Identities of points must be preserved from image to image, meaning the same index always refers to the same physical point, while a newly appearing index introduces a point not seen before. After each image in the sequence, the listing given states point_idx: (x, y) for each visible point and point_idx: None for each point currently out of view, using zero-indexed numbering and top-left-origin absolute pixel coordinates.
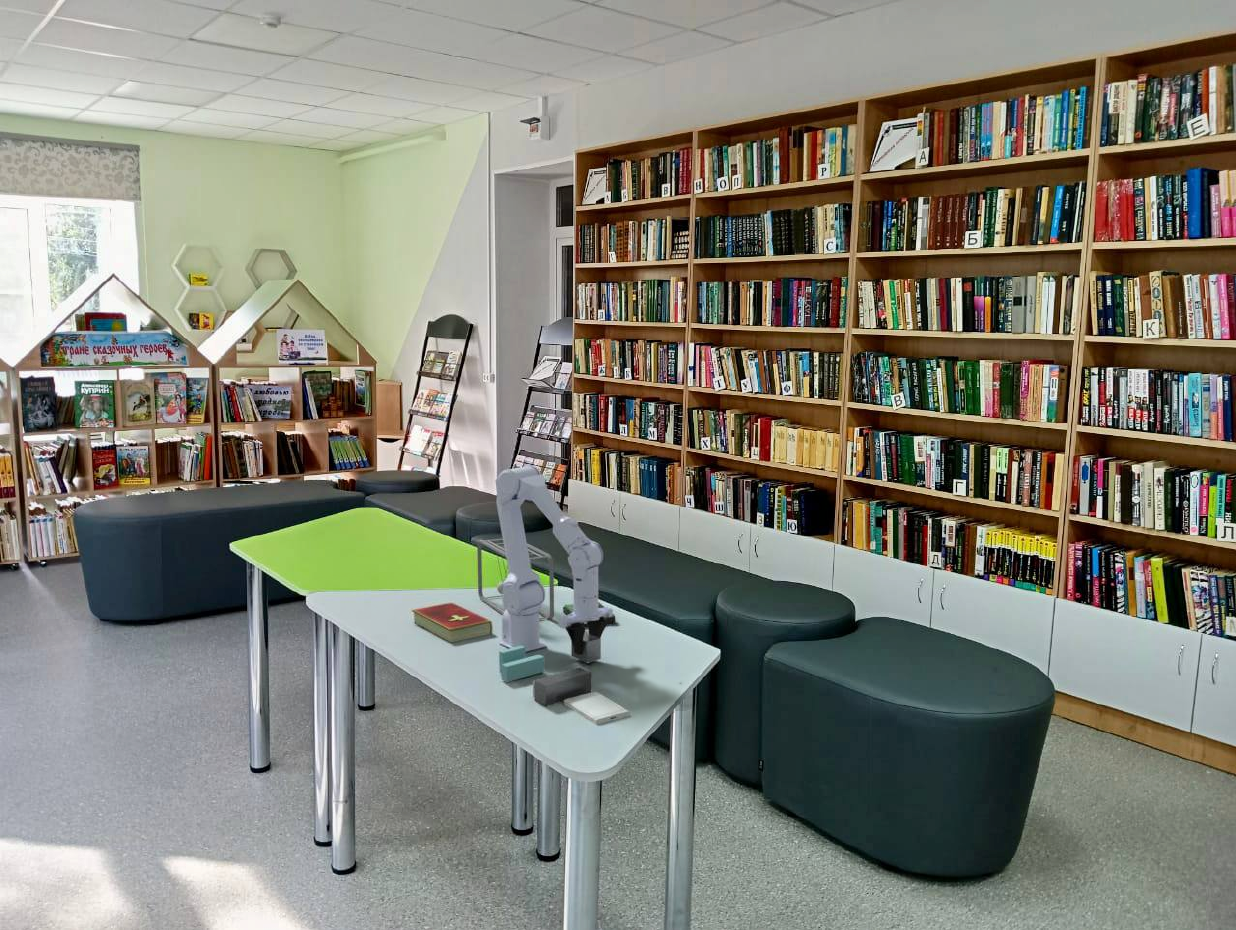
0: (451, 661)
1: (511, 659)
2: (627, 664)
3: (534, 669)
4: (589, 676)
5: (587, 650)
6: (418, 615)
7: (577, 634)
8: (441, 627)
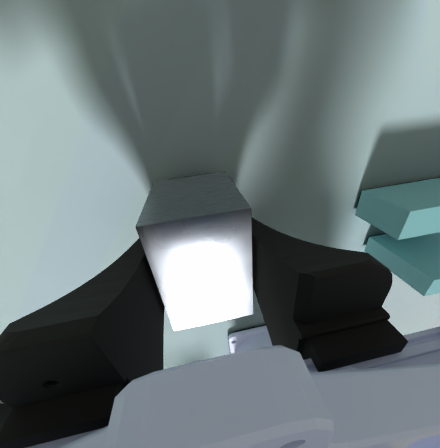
0: (403, 319)
1: None
2: (35, 87)
3: (410, 190)
4: None
5: (235, 188)
6: None
7: (340, 250)
8: None
